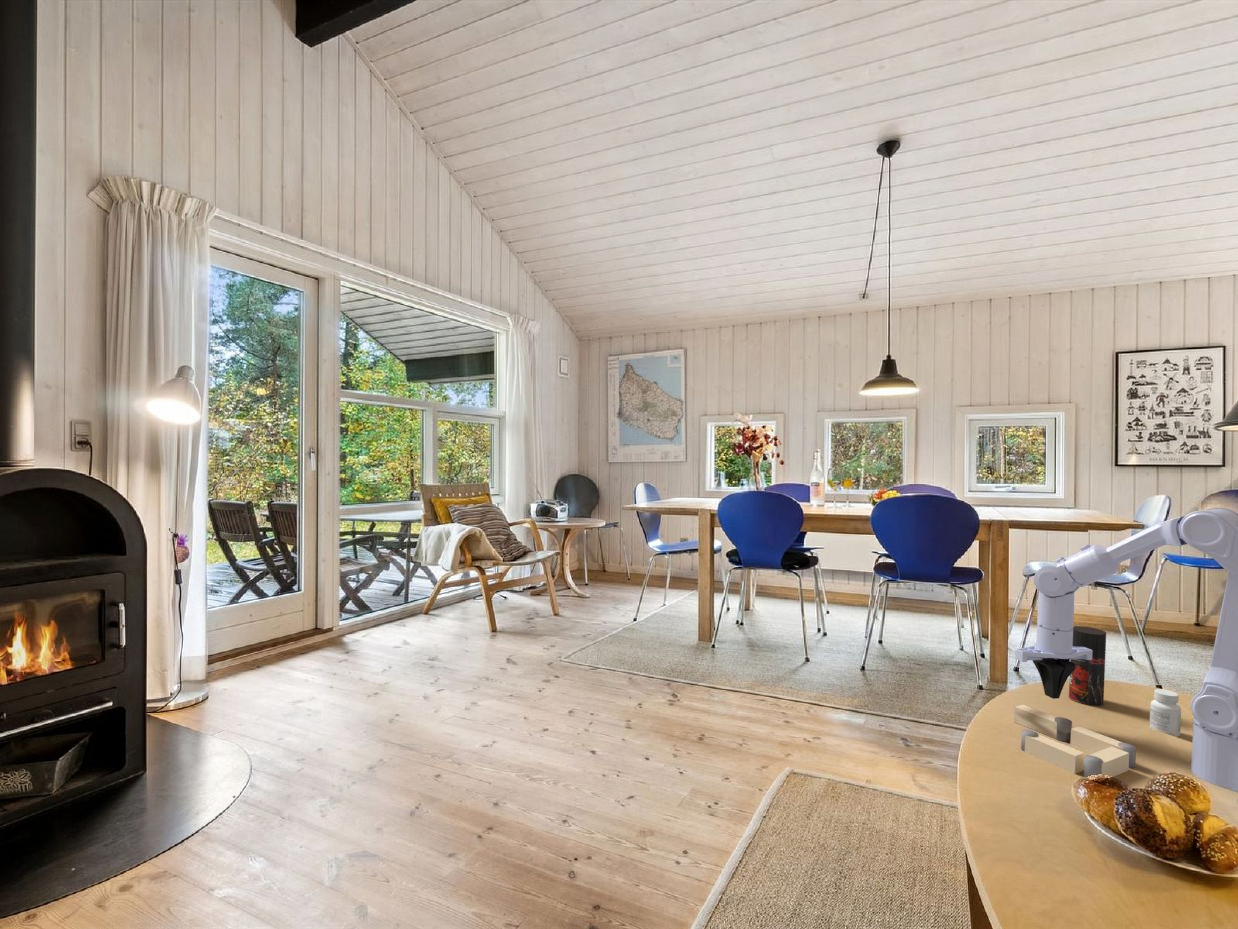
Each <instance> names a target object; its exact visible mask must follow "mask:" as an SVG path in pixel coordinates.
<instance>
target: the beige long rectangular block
mask: <svg viewBox="0 0 1238 929" xmlns="http://www.w3.org/2000/svg"><path fill="white" fill-rule="evenodd" d="M1013 720H1014V722H1013V723H1016V724H1017V725H1020V726H1023V727H1026V728H1028V729H1029V730H1032V731H1034V732H1036V733H1037V732H1038V733H1041V735H1042V734H1043V735H1046V736H1047V737H1050V738H1053V739H1055V740H1056V741H1061V742H1064V743H1071V729H1072V728H1073V721H1072V720H1070V719H1068V718H1067V717H1062V716H1055V715H1053V714H1052V715H1051V714H1049V713H1046V712H1044V711H1041V710H1038V709H1036V708H1033V707H1030V706H1028V705H1025V704H1020V705H1016V706H1014V719H1013Z"/></svg>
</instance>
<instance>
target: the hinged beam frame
mask: <svg viewBox="0 0 1238 929" xmlns="http://www.w3.org/2000/svg"><path fill="white" fill-rule="evenodd" d="M1020 735H1021V738H1020V739H1021V740H1020V749H1021V751H1023V752H1024V753H1026V754H1028V755H1031V756H1034V757H1036V758H1038V759H1041V760H1042V761H1044V762H1047V763H1049V764H1052V765H1054V766H1056V767H1059V768H1060V769H1063V770H1064V771H1066V772H1067V771H1068V772H1070V773H1072V774H1074V775H1075V774H1078V773H1080V772H1083V778H1085V777H1088V776H1091V775H1098V774H1102V775H1108V776H1112V778H1113V777H1117V776H1119V775H1122V774H1124V773H1127V772H1129V769H1136V764H1137V747H1136V746H1135V745H1132V744H1131V743H1127V742H1123V741H1119V740H1118V739H1115V738H1112V737H1109V736H1107V735H1104V734H1101V733H1098V732H1096V731H1093V730H1090V729H1088V728H1085V727H1083V726H1080V725H1079V726H1076V727H1072V729H1071V742H1069V744H1070V746H1072V747H1070V746H1068V745H1067V744H1063V743H1061V742H1059V741H1058V740H1054V739H1051V738H1048V737H1046V736H1044V735H1042V734H1038V733H1037V731H1035V730H1032V729H1021V734H1020ZM1074 747H1075V748H1074ZM1076 748H1077V749H1076ZM1078 749H1080V750H1078ZM1083 751H1084V752H1083ZM1085 752H1087V753H1089V754H1085Z"/></svg>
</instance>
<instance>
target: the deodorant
mask: <svg viewBox="0 0 1238 929" xmlns="http://www.w3.org/2000/svg"><path fill="white" fill-rule="evenodd" d="M1072 647H1086V648H1088V649H1091V650H1093V651H1092V660H1086V659H1070V662H1072V663H1074V664H1075V670H1074V671H1073V672H1072V673H1071V674H1070V676H1069V683H1068V684H1069V685H1068V686H1069V687H1068V688H1069V689H1068V698H1069V699H1070V700H1071V701H1073V702H1074V703H1075V702H1076V703H1079V704H1081V705H1087V706H1094V707H1095V706H1096V707H1100V706H1103V705H1104V699H1105V674H1106V670H1105V669H1106V651H1107V631H1105V630H1103V629H1099V628H1095V627H1090V626H1082V625H1077V626H1076V625H1075V626H1074V625H1073V646H1072Z"/></svg>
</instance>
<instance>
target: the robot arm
mask: <svg viewBox="0 0 1238 929" xmlns="http://www.w3.org/2000/svg"><path fill="white" fill-rule="evenodd" d="M1186 545H1189V546H1190V547H1192V548H1193V549H1196V550H1198V551H1199V552H1202V553H1204V554H1205V555H1207V556H1210V557H1211V558H1212V560H1215V561H1216V562H1217V564H1218V565H1220V567H1222V568H1223V570H1225V571H1226V572H1227V579H1226V584H1225V588H1224V593H1223V600H1222V605H1221V609H1220V614H1219V619H1218V625H1217V629H1216V635H1215V638H1214V639H1215V640H1214V645H1213V651H1212V656H1211V660H1210V665H1209V668H1208V671H1207V673H1206V675H1205V678H1204V680H1203V682H1202V687H1201V689H1200V691H1199V692H1198V693H1196V694H1195V695H1194V696H1193V698H1192V699H1191V701H1190V710H1191V714H1192V715H1193V723H1192V724H1193V725H1192V743H1191V761H1190V762H1191V765H1190V767H1191V768H1190V770H1191V771H1190V772H1191V773H1192V774H1193V775H1194V776H1195V777H1197V778H1198V779H1200V780H1202V781H1204V782H1207V783H1209V784H1212V785H1214V786H1217V787H1219V788H1220V787H1221V788H1224V789H1227V790H1230V791H1234V792H1236V793H1238V512H1237V511H1235V510H1232V509H1229V508H1226V507H1212V508H1208V509H1205V510H1202V509H1201V510H1196V511H1195V510H1194V511H1192V512H1190V513H1188V514H1186V515H1183V516H1178V517H1174V518H1171V519H1167V520H1164V521H1161V522H1158V523H1156V524H1154V525H1152V526H1149V527H1148V528H1146V529H1144V530H1141V531H1138V532H1137V533H1135V534H1133V535H1131V536H1129V537H1127V538H1124V539H1123V540H1121V541H1119V542H1116V543H1115V544H1113V545H1111V546H1104V545H1100V544H1094V545H1092V546H1091V544H1085V545H1083V546H1080V547H1079V549H1080V551H1079V552H1076V553H1073V554H1072V555H1069V556H1067V557H1066V558H1064V556H1062V557H1059V558H1057V559H1056V560H1055V562H1056V563H1055V564H1046V565H1042V566H1041V568H1040V569H1037V571H1036V572H1035V574H1034V576H1033V584H1034V586H1035V588H1036V589H1037V591H1038V599H1037V619H1036V620H1037V621H1036V642H1034V645H1031V646H1030V645H1029V646H1026V647H1022V648H1015V649H1014V650H1015V651H1014V652H1015V654H1014V657H1015V659H1016V660H1018V661H1020V662H1022V663H1027V662H1028V661H1031V662H1032V663H1033V665H1034V666H1035V668H1036V671H1037V672H1038V674H1039V677H1040V681H1041V683H1042V686H1043V687H1042V688H1043V691H1044V695H1045V696H1047V697H1049V698H1051V699H1053V700H1054V699H1060V698H1061V697H1060V696H1061V695H1062V694H1061V693H1062V691H1063V689H1064V686H1065V684H1066V682H1067V680H1068V679H1069V678H1070V674H1071V673H1072V672H1073V671H1074V670H1075V664H1074V663H1072V662H1070V659H1086V660H1092V651H1093V650H1091V649H1088V648H1086V647H1072V646H1073V627H1074V620H1075V619H1074V618H1075V592H1077V591H1078V590H1079V589H1080V588H1084V587H1086V586H1089V585H1091V584H1094V583H1096V582H1098V581H1100V580H1103V579H1106V578H1108V577H1110V576H1113V575H1115V574H1117V573H1118V571H1119V569H1120V565H1121V563H1123V562H1125V561H1127V560H1130V559H1133V558H1135V557H1138V556H1141V555H1143V554H1145V553H1148V552H1151V551H1153V550H1155V549H1158V548H1161V547H1164V546H1177V547H1183V546H1186Z"/></svg>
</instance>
